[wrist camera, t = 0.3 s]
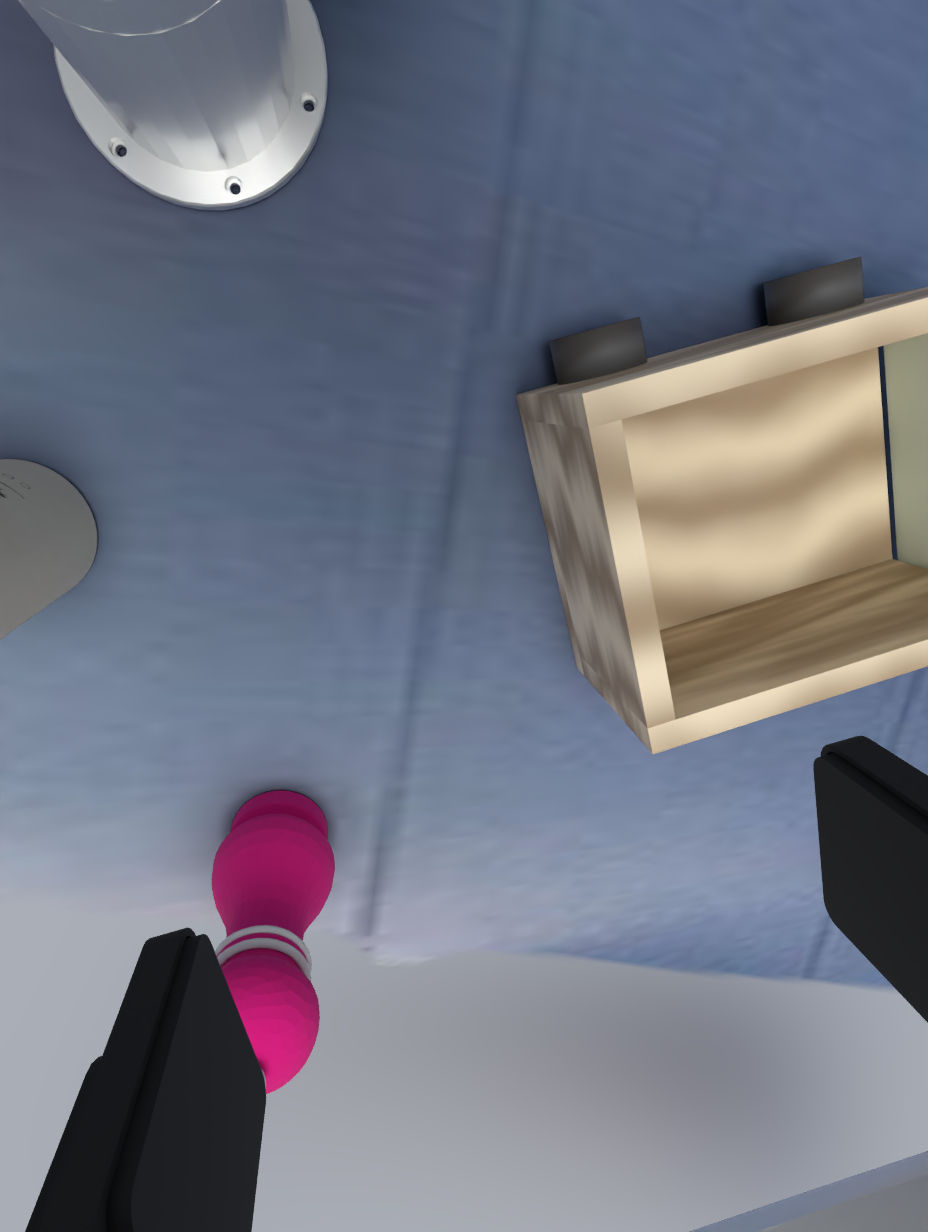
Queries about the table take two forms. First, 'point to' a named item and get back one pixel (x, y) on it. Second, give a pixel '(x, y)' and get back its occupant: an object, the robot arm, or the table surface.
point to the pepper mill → (273, 924)
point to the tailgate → (909, 444)
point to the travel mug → (40, 540)
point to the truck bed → (730, 510)
